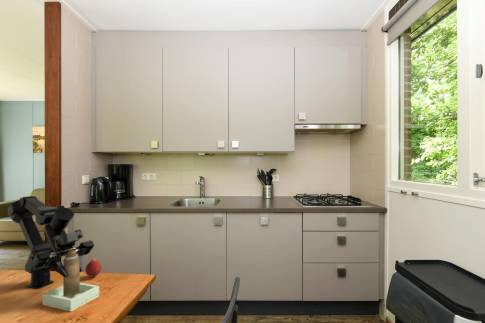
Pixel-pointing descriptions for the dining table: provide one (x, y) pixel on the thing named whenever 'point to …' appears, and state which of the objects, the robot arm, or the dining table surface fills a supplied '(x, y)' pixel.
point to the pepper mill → (71, 274)
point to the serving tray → (72, 302)
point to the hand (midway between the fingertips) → (73, 273)
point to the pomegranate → (93, 268)
